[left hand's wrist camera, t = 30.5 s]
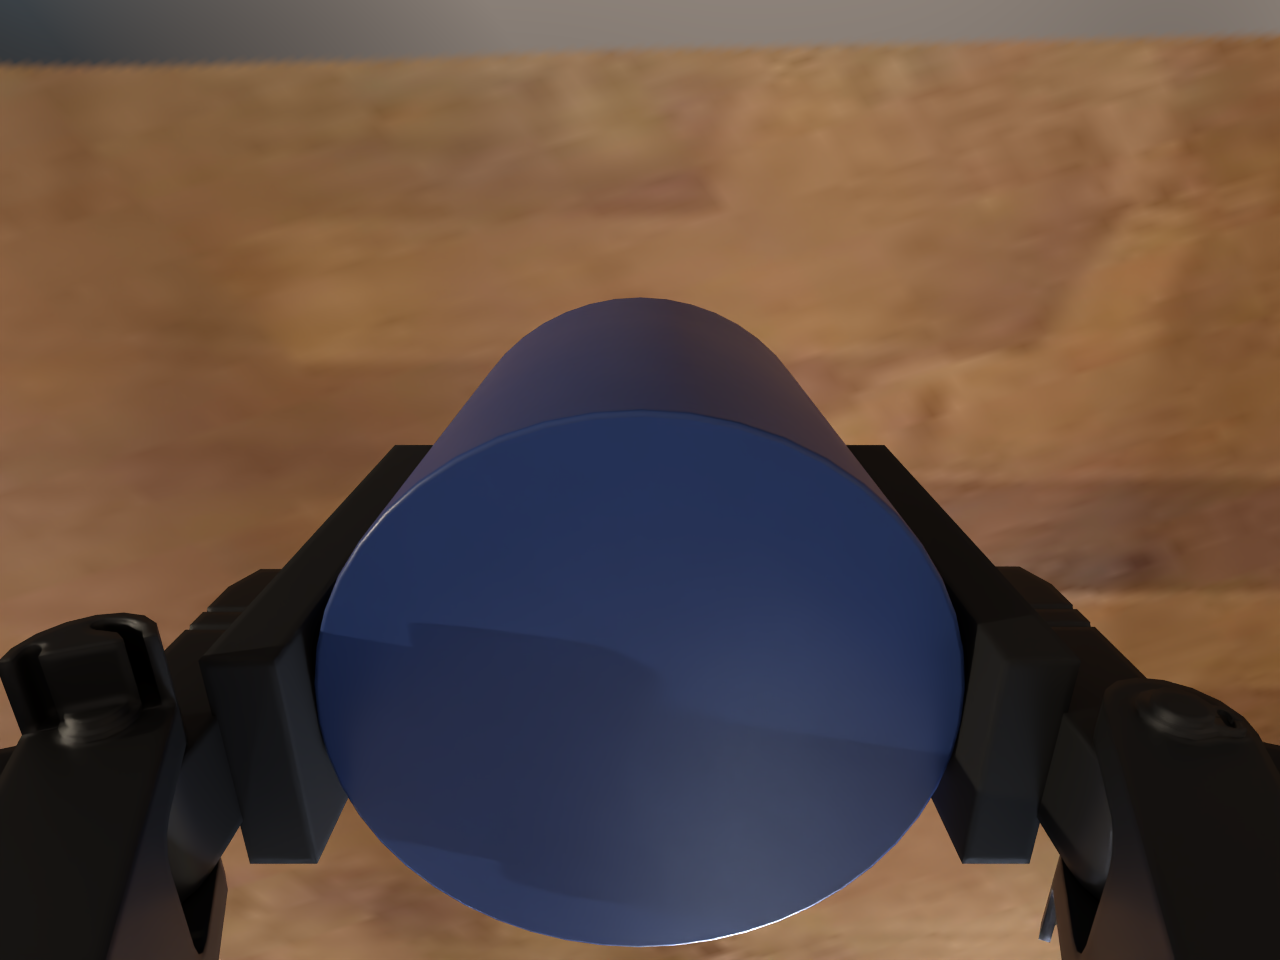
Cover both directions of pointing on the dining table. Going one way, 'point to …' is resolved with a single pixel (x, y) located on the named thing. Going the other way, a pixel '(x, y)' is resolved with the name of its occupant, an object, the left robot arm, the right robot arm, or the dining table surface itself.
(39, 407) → the dining table surface
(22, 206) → the dining table surface
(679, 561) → the canister
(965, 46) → the dining table surface
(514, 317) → the dining table surface
